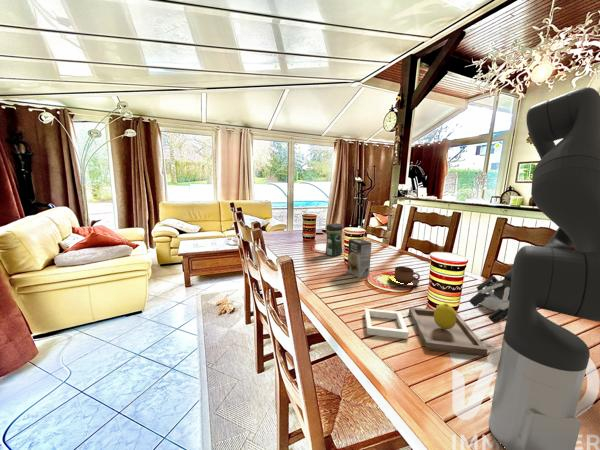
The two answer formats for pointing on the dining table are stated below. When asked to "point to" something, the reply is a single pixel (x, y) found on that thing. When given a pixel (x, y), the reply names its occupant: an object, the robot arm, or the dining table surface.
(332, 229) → the coffee jar
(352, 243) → the coffee box
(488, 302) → the ramekin
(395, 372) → the dining table surface
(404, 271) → the cup and saucer
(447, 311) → the lemon
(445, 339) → the walnut tray
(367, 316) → the holder frame
